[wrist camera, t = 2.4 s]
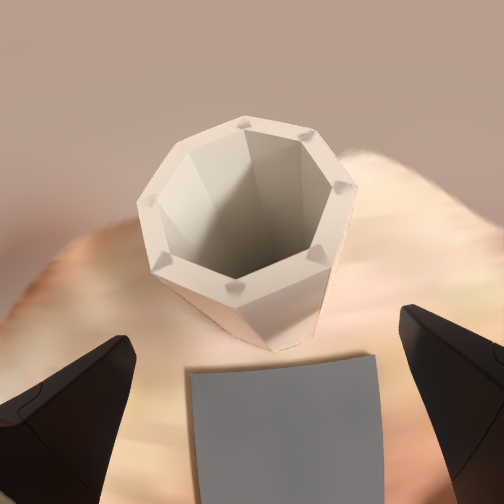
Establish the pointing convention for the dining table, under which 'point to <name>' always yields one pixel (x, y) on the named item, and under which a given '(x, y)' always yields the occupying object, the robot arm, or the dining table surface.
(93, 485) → the robot arm
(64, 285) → the dining table surface
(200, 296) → the tumbler
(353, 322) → the dining table surface
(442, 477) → the dining table surface
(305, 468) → the coaster
